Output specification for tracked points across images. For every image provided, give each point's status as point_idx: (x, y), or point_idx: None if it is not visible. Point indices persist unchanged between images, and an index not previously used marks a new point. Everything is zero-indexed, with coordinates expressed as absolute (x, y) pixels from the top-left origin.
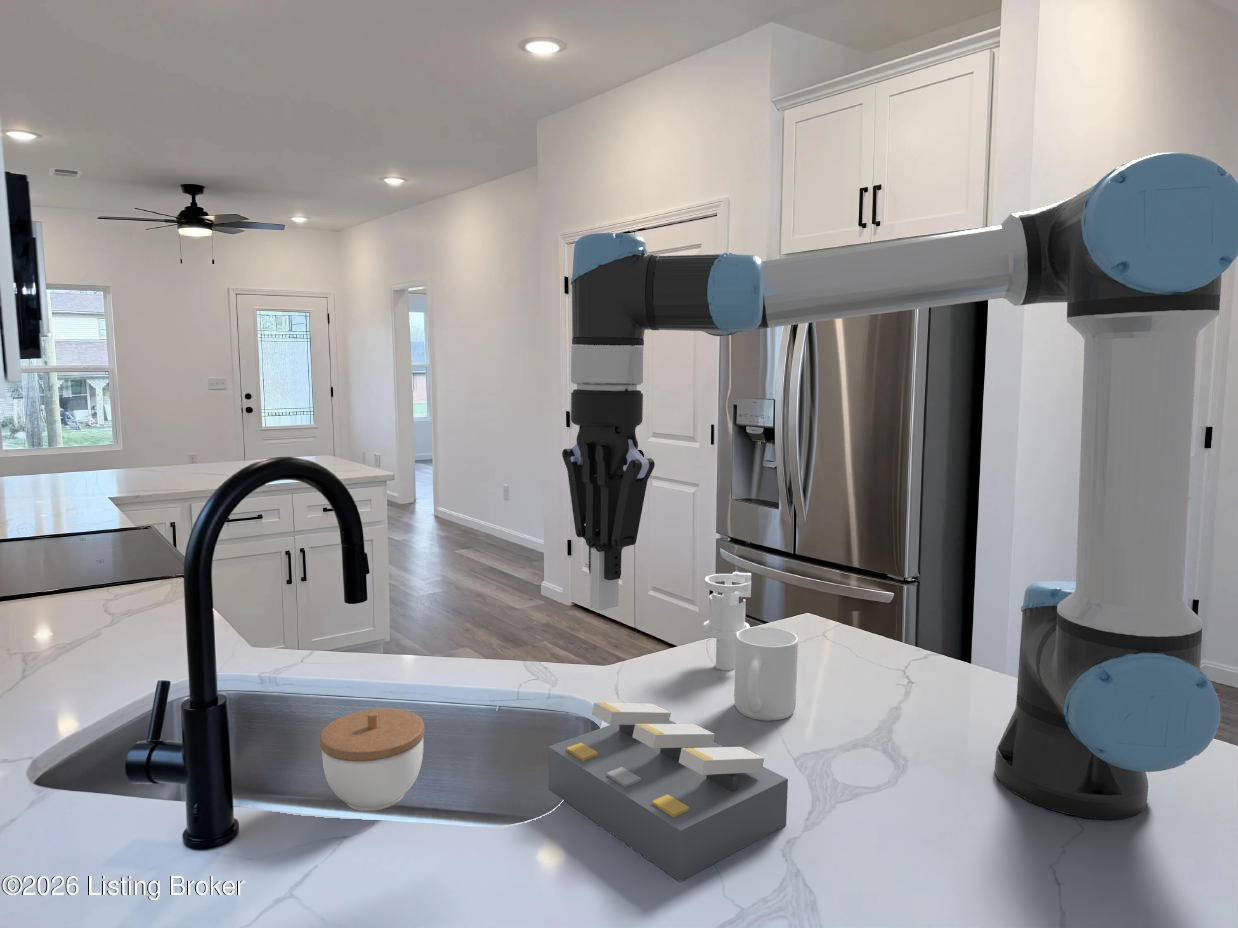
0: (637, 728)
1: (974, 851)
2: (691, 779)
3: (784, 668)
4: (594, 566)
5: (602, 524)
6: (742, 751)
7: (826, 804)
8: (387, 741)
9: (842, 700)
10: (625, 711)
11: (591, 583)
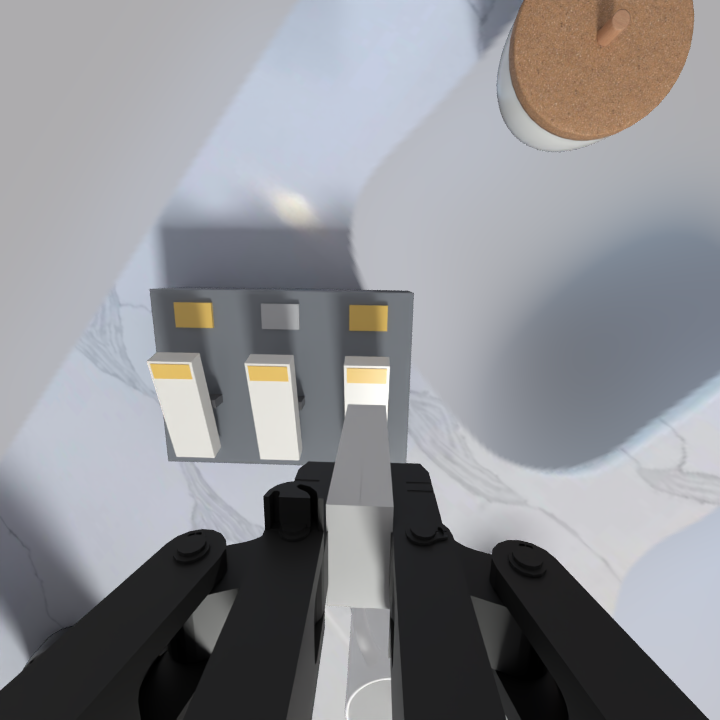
0: (284, 361)
1: (73, 524)
2: (230, 378)
3: (348, 666)
4: (366, 464)
5: (280, 630)
6: (196, 445)
7: (199, 494)
8: (537, 34)
9: (344, 682)
10: (346, 390)
11: (382, 433)
